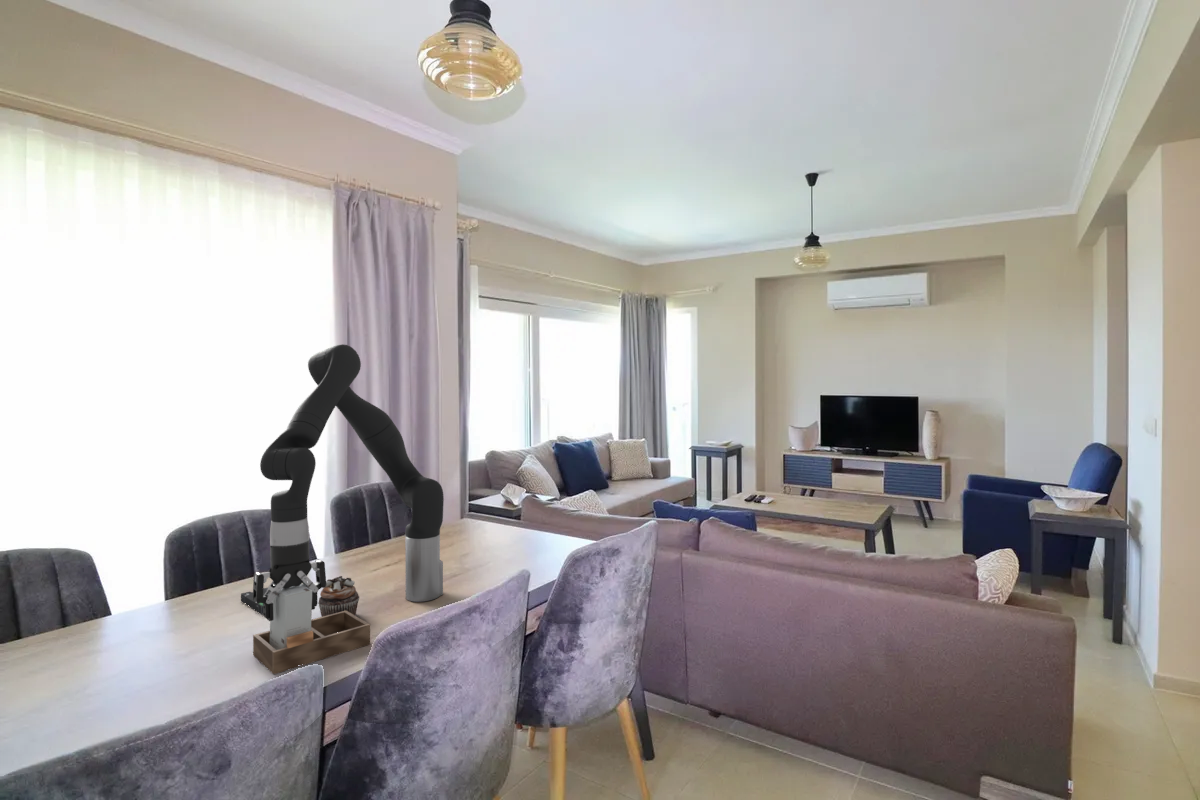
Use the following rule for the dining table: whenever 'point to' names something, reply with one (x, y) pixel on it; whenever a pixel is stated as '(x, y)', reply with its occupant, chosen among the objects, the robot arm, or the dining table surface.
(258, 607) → the disk drive
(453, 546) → the dining table surface
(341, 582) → the cupcake
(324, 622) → the compartment tray
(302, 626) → the skincare box
